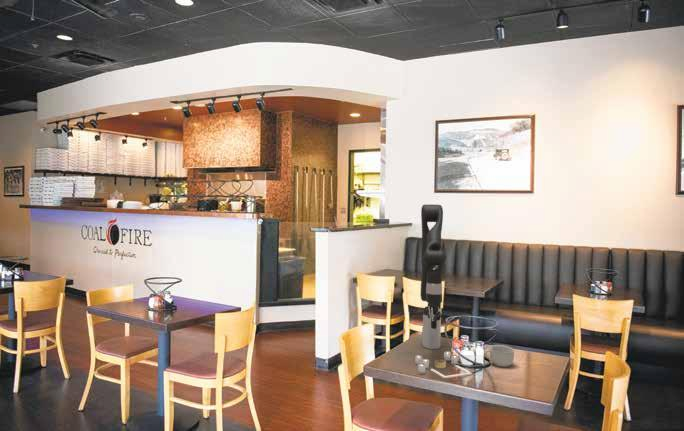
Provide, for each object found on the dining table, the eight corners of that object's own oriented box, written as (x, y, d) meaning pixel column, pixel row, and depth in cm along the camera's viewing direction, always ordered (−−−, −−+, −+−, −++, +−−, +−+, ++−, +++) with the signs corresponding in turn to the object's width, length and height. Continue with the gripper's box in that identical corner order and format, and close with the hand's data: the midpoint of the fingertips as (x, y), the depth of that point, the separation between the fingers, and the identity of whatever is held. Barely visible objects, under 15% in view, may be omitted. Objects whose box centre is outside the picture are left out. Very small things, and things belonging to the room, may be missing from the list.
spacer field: (404, 364, 227) (404, 356, 227) (455, 358, 237) (455, 350, 237) (420, 374, 214) (420, 366, 214) (473, 367, 224) (473, 358, 224)
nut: (432, 366, 225) (432, 361, 225) (437, 364, 229) (437, 358, 229) (443, 369, 222) (443, 363, 222) (448, 366, 225) (448, 361, 225)
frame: (430, 370, 220) (430, 368, 220) (457, 366, 225) (457, 365, 225) (444, 378, 209) (444, 377, 209) (471, 374, 215) (472, 373, 215)
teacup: (510, 361, 233) (511, 345, 232) (516, 369, 222) (517, 352, 222) (481, 360, 234) (481, 344, 234) (485, 368, 223) (485, 351, 223)
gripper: (448, 294, 226) (448, 331, 226) (433, 289, 238) (432, 324, 238) (435, 295, 223) (434, 332, 223) (419, 290, 235) (419, 325, 235)
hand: (433, 328), depth 231 cm, fingers closed
